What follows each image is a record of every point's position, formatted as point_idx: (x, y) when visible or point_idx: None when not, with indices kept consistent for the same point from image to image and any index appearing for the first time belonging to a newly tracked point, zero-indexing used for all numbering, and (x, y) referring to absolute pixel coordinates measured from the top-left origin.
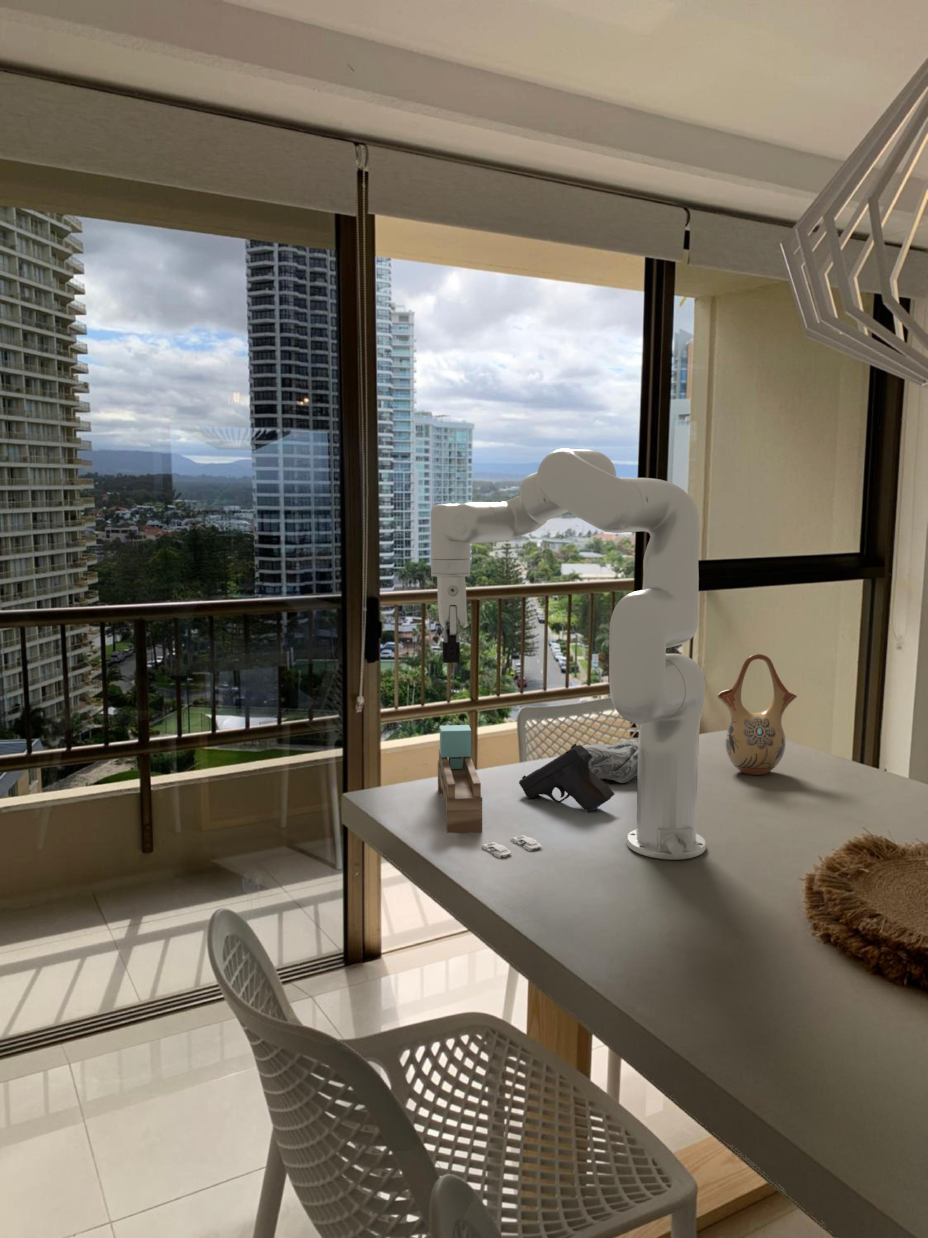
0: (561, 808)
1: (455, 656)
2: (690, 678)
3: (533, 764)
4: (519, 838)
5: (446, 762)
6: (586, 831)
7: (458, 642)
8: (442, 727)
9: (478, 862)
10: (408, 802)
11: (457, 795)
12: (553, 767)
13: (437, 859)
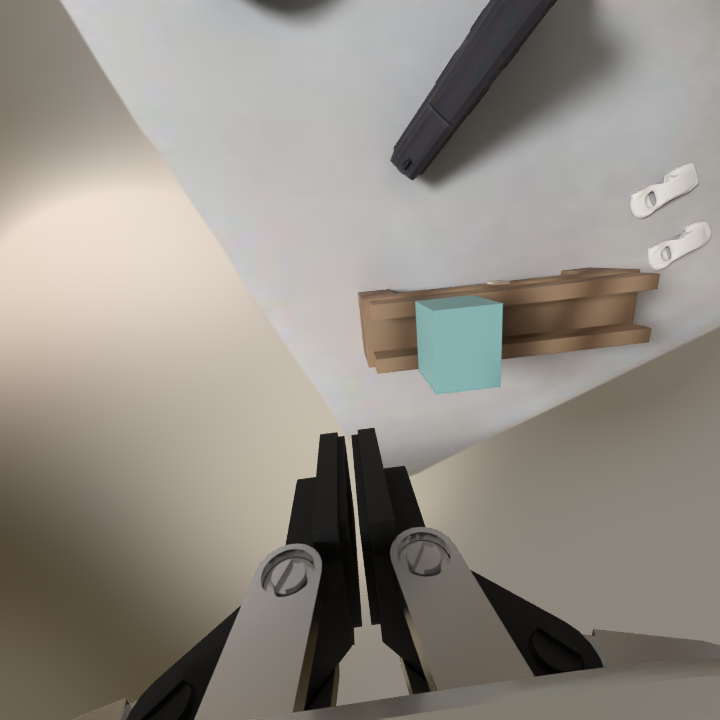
0: (491, 94)
1: (404, 471)
2: None
3: (159, 126)
4: (645, 202)
5: None
6: (628, 57)
7: (430, 529)
8: (458, 385)
9: (708, 275)
10: (429, 394)
11: (615, 318)
12: (500, 67)
13: (680, 335)
